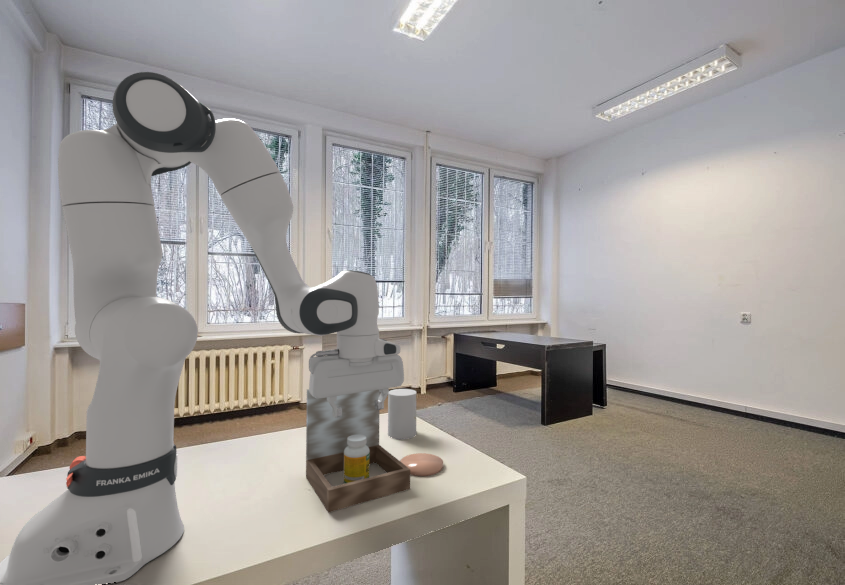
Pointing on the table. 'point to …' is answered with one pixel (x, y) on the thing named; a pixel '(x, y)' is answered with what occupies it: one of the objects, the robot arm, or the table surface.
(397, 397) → the white cylinder
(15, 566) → the robot arm
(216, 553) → the table surface
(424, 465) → the pink flat disc
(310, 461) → the hinged wooden box
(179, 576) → the table surface
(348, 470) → the supplement bottle
